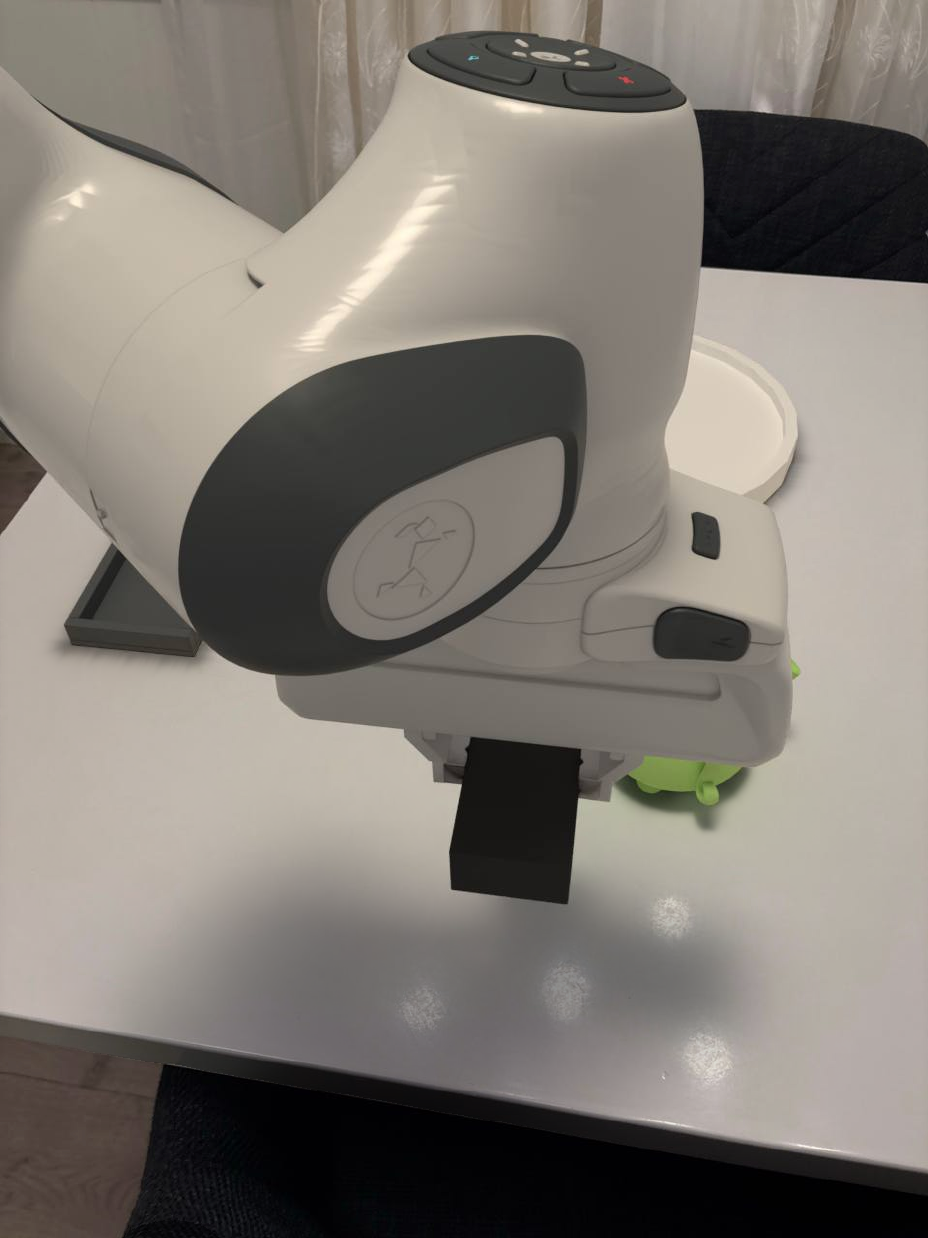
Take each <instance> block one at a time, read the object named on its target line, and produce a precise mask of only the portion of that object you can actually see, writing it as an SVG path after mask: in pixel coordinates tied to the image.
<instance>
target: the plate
mask: <svg viewBox="0 0 928 1238" xmlns="http://www.w3.org/2000/svg"><path fill="white" fill-rule="evenodd" d="M798 437H799V431H798V416H797V410H796V408H795V405H794V403H793V402H792V400H791V398H790V397H789V395H788V392H787V391H786V389H785V387H784V386H783V385H782V384H781V383H780V382H779V381H778V380H777V379H776V378H775V377H773V375H772V374H770V372H768V371H767V370H766V368H764V367H763V366H762V365H761V364H759V363H757V362H756V361H754V360H752V359H751V358H749V357H747V356H745V355H744V354H742V353H740V352H739V351H737V350H735V349H734V348H732V347H729V346H726V345H724V344H721V343H719V342H716V341H713V340H710V339H708V338H705V337H703V336H700V335H696V334H693V340H692V346H691V353H690V359H689V365H688V372H687V377H686V382H685V386H684V389H683V392H682V395H681V397H680V399H679V401H678V404H677V406H676V408H675V410H674V411H673V413H672V415H671V417H670V419H669V421H668V424H667V427H666V432H665V448H666V452H667V456H668V461H669V468H670V469H673V470H675V471H677V472H680V473H682V474H685V475H687V476H690V477H692V478H695V479H697V480H700V481H703V482H705V483H708V484H711V485H714V486H716V487H719V488H722V489H725V490H728V491H731V492H734V493H736V494H739V495H742V496H745V497H748V498H751V499H754V500H756V501H759V502H761V503H763V504H764V503H765V502H767V500H769V498H770V497H771V496H772V495H773V494H774V493H776V492H777V490H778V489H780V488H781V486H782V485H783V483H784V480H785V478H786V476H787V473H788V471H789V468H790V466H791V463H792V461H793V458H794V453H795V450H796V446H797V442H798Z"/></svg>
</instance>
